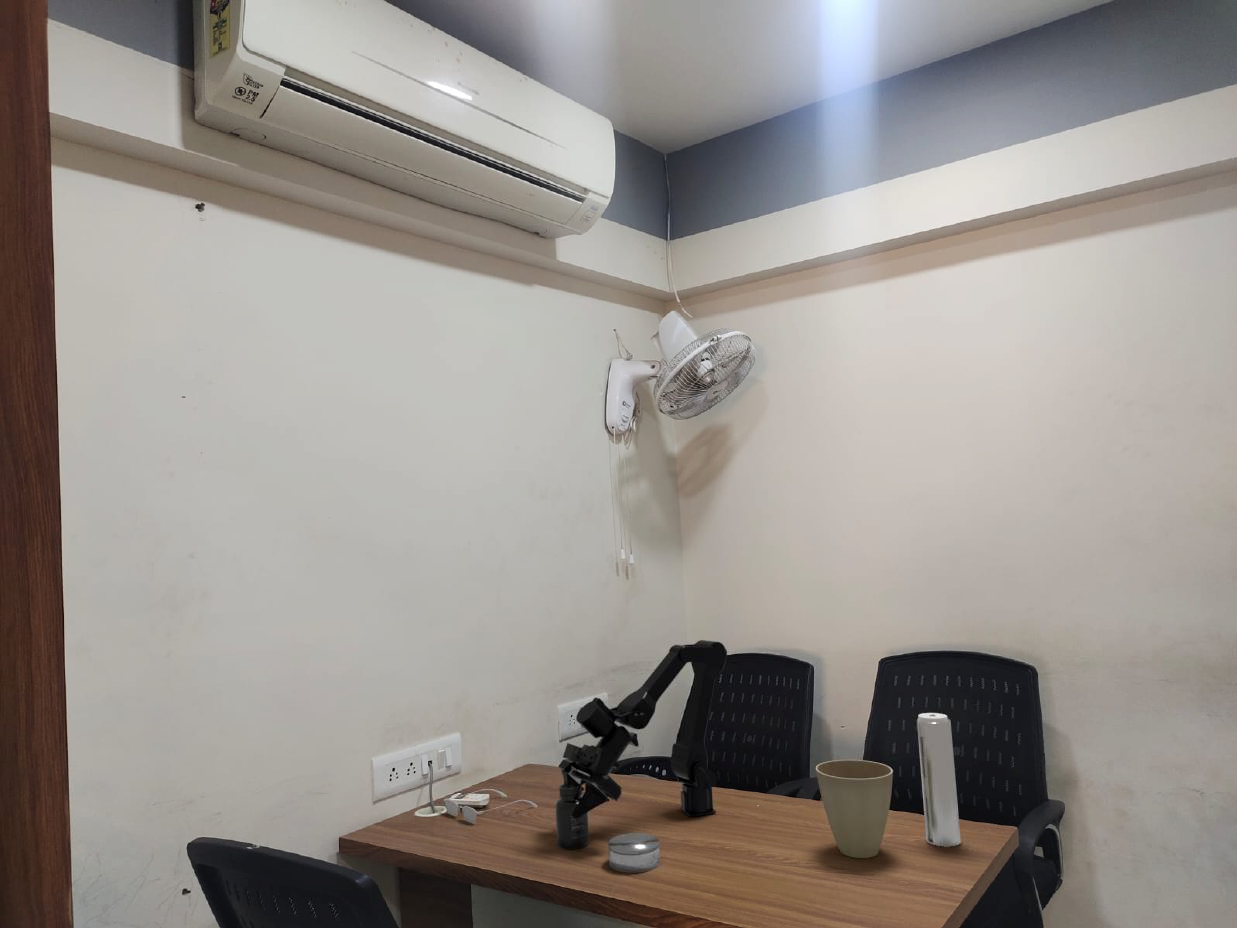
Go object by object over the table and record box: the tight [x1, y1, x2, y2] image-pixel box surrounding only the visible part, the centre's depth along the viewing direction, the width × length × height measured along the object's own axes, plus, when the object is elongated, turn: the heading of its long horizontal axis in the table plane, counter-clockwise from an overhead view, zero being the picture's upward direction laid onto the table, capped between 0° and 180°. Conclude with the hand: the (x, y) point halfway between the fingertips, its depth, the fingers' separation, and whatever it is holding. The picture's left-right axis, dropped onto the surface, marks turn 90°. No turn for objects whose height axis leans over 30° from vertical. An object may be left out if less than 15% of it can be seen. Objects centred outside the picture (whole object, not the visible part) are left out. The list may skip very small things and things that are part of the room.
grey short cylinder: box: [607, 832, 661, 874], centre depth 164 cm, size 10×10×4 cm
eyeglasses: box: [443, 788, 538, 825], centre depth 202 cm, size 15×18×4 cm
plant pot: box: [815, 759, 894, 859], centre depth 165 cm, size 15×15×16 cm
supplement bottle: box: [555, 783, 590, 850], centre depth 176 cm, size 7×7×12 cm
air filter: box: [916, 712, 962, 848], centre depth 168 cm, size 6×6×25 cm
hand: (565, 813), depth 175 cm, fingers closed on supplement bottle, 7 cm apart
